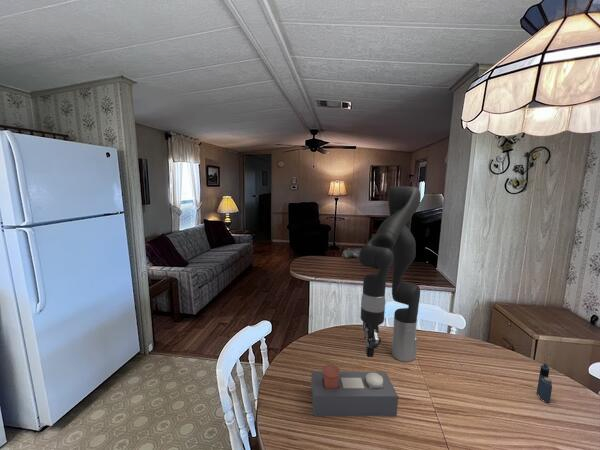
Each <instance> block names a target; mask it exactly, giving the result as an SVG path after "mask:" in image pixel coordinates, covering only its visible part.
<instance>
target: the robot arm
mask: <svg viewBox="0 0 600 450" xmlns="http://www.w3.org/2000/svg"><path fill="white" fill-rule="evenodd" d="M421 195H422V194H421V190H420V188H418V187H417V186H412V185H411V186H408V185H407V186H405V185H403V186H402V185H401V186H398V185H397V186H396V185H395V186H391V188H390V189H389V191H388V195H387V196H388V200H387V202H388V210H389V217H387V218H385V219H384V220H383V222H382V223H381V224H380V225H379V227H378V229H377V231H376V233H375V234H374V236H372V237H371V238H370V239H369V240H367V242H366V243H365V244H364V245H363V246H362V247H361V249H360V250H359V254H358V260H359V263H360V265H362V266H363V267H366V268H371V269H376V270H378V272H377V273H369V274H366V275H364V276H363V282H362V283H363V284H362V294H361V300H360V301H361V303H360V320H361V321H362V327H363V337H364V338H363V339H364V340H365V344H366V346H365V351H366V352H365V354H366V356H367V358H374V355H375V349H378V347H379V345H380V344H381V343H382V339H381V338H380V337H379V333H380V328H379V325H382V324H383V323H384V322H385V313H386V286H387V285H386V284H387V279H388V275H389V272H390V270H391V268H392V279H391V281H392V282H391V297H392V299H393V301H394V302H396V303H399V304H403V305H406V306H408V307H403V308H397V309H396V310H394V315H393V328H392V341H391V342H392V344H391V345H392V346H391V355H392V357H393V358H394V359H395V360H398V361H401V362H407V363H408V362H411V361H414V360H415V361H416V358H417V347H418V338H417V337H416V334H417V323H418V314H419V305H420V298H421V289H420V286H419V285H418V284H415V283H412V282H410V283H409V282H407V281H404V280H403V277H404V273H405V272H406V270H407V269H408V268H409V267H410V265H411V264H412V263H413V262H414V260H415V259H416V256H417V255H416V253H417V252H416V247H417V245H416V244H417V243H416V240H415V239H416V238H415V237H414V235H413V234H412V232H411V231H410V229H409V228H408V226H407V225H406V224H407V223H408V222H409V221H410V220H411V218H412V217H413V215H415V213H416V211H417V210H418V208H419V206H420V204H421V198H422V197H421Z"/></svg>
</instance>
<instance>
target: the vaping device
mask: <svg viewBox="0 0 600 450" xmlns="http://www.w3.org/2000/svg"><path fill="white" fill-rule="evenodd" d="M549 376H550V367H549V366H548V364H547V363H543V364H542V365H540V369H539V374H538V383H537V389H536V394H537V393H538V395H539V396H540V398H541V399H542V400H544V401H546V402H549V403H550V402H551V398H552V397H551V396H552V390H553V383H552V379H551V378H550V377H549ZM538 395H537V396H538ZM539 396H538V397H539ZM540 398H539V399H540ZM541 399H540V400H541ZM542 400H541V401H542ZM546 402H545V403H546Z"/></svg>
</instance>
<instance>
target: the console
mask: <svg viewBox="0 0 600 450" xmlns="http://www.w3.org/2000/svg"><path fill="white" fill-rule="evenodd" d="M368 373H377V374H379V375H380V376H382V378H383V385H382V386H383V389H369V387H368V385H367V383H366V375H367V374H368ZM310 379H311V382H310V383H311V384H310V391H311V403H312V413H313V417H397V416H398V406H399V405H398V403H399V396H398V394H397V391H396V389H395V387H394V385H393V383H392V381H391V379H390V378H389V376H388V374H387V371H339V377H338V388H324V386H323V371H311V378H310Z"/></svg>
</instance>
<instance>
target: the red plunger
mask: <svg viewBox="0 0 600 450" xmlns="http://www.w3.org/2000/svg"><path fill="white" fill-rule="evenodd" d="M322 372H323V386H324V388H338V377H339V372H340V368H339V367H338V366H337V365H335V364H326V365H325V364H324V366H323V368H322Z"/></svg>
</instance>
